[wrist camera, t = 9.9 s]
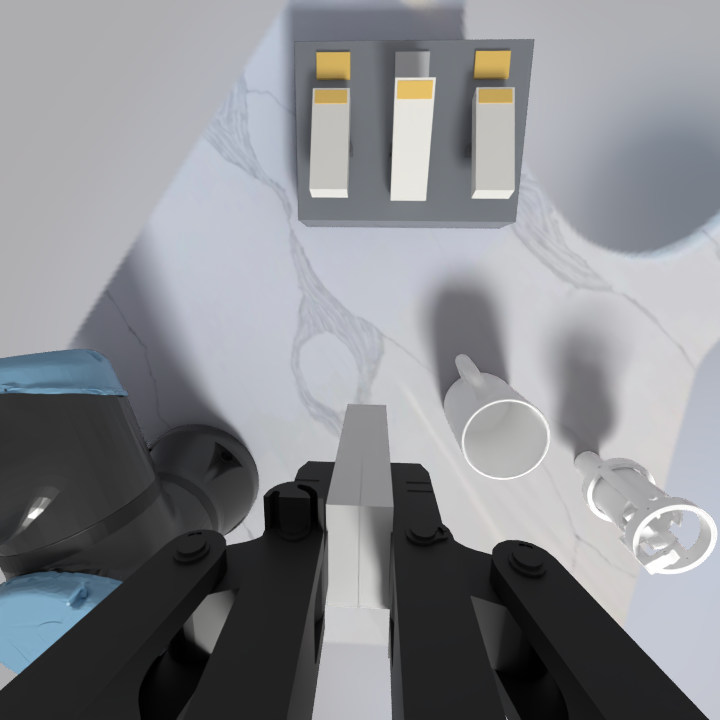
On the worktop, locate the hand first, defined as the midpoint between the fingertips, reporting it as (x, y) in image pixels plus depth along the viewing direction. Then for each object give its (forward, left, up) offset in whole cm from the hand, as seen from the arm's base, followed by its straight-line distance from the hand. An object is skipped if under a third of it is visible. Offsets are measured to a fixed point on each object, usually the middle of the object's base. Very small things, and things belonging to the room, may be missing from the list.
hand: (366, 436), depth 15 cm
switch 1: (-4, +18, -22) cm, 28 cm away
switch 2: (+3, +18, -22) cm, 28 cm away
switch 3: (+10, +18, -22) cm, 30 cm away
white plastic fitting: (+27, -16, -30) cm, 43 cm away
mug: (+12, -7, -30) cm, 33 cm away
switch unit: (+3, +19, -29) cm, 35 cm away
